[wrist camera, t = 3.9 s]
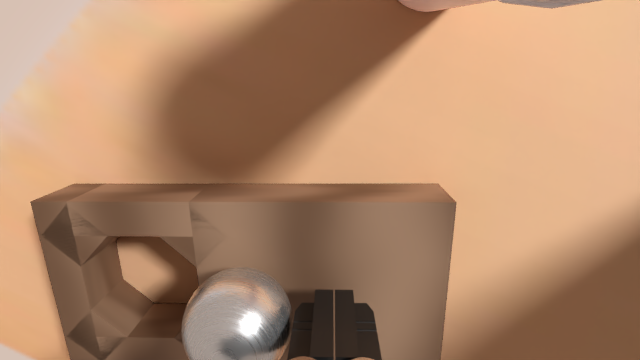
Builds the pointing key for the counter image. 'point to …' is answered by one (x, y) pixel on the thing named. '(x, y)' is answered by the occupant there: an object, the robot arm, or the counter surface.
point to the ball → (237, 317)
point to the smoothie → (427, 3)
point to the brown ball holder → (250, 256)
